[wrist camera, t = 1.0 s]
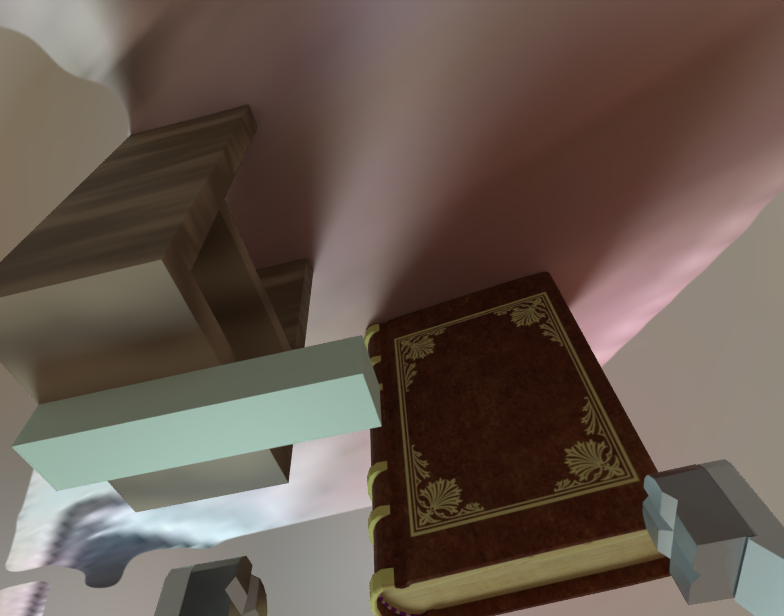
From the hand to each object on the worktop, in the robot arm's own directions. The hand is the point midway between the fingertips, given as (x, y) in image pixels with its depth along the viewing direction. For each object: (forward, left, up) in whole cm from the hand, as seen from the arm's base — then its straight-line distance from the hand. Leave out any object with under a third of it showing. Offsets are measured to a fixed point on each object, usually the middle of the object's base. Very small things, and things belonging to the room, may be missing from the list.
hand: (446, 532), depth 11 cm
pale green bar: (+10, -13, -17) cm, 23 cm away
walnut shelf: (+10, -17, -43) cm, 47 cm away
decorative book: (+30, +2, -43) cm, 52 cm away
